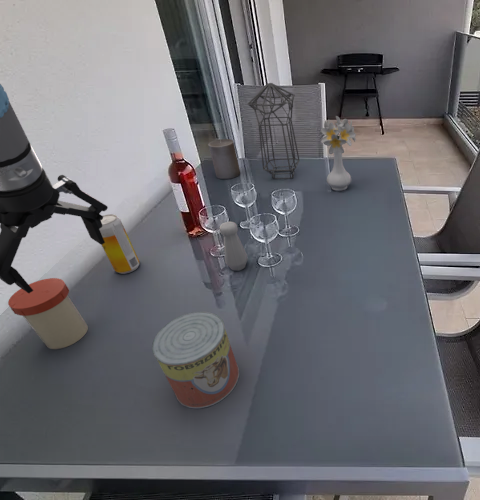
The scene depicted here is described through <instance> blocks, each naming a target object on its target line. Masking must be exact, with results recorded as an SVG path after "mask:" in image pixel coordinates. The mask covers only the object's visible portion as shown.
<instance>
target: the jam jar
mask: <svg viewBox="0 0 480 500" xmlns="http://www.w3.org/2000/svg"><path fill="white" fill-rule="evenodd" d="M22 317H23V318H24V319H25V321H26V322H27V323H28V325H29V326H30V327H31V328H32V330H33V331H34V332H35V334H36V335H37V336H38V337H39V339H40V340H41V341H42V343H43V345H44V346H45V347H47V349H50V350H60V349H65V348H67V347H70V346H72V345H73V344H74V345H75V343H77V342H79V341H80V340H81V339H82V338H83V337H85V335H86V334H87V332H88V331H89V326H88V324H87V322H86V320H85V319H84V318H83V316H82V315H81V313H80V311H79V310H78V308H77V307H76V305H75V304H74V301H72V299H71V298H70V296H69V294H68V295H67V297H66V298H65V299H64V300H63V301H62V302H61V303H59V304H58V305H56V306H55V307H53V308H51V309H49V310H47V311H44V312H42V313H39V314H35V315H29V316H22Z"/></svg>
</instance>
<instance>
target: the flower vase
mask: <svg viewBox="0 0 480 500" xmlns="http://www.w3.org/2000/svg"><path fill="white" fill-rule="evenodd" d="M335 119H336V122H335V123H333V122H332V121H331V122H330V119H328V120H326V119H325V120H324V123H323V127H322V128H320V131H319V135H321V136H320V137H319V140H321V141H320V143H321V144H323V145H324V146H327V147H329V149H328V154H329V155H333V165H332V169H331V171H330V172H329V173H328V174H327V176H326V183H327V185H328V186H329V187H331V190H333V191H334V192H335V191H336V192H343V191H345V190H347V189H348V187H349V186H350V185H351V183H352V175H351V174H350V173H349V172H348V171H347V170H346V168H345V165H344V161H343V154H344V153H345V149H344V148H343V145H345V144H347V145H348V146H349V147H352V144H353V143H352V140H353V142H354V143H356V141H357V138H356V136H357V133H356V132H355V126H353V125H352V124H353V122H352V119H351V120H350V123H349V120H348V119H347V118H344V119H342V120H341V117H339V116H338V115H335ZM339 134H340V135H339Z"/></svg>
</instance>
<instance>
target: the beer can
mask: <svg viewBox="0 0 480 500" xmlns="http://www.w3.org/2000/svg"><path fill="white" fill-rule="evenodd" d="M102 216H103V219H102V220H101V223H102V227H101V228H100V229H99V230H100V232H101V234H102V237H103V239H104V241H105V243H104V244H102V245H101V247H102V249H103V251H104V253H105V254H106V257H107V259H108V260H109V263H110V264H111V266H112V268H113V270H114V271H115V272H116V273H119V274H120V275H126V274H130V273H132V272H134V271H136V270H137V269H138V268H139V265H140V260H139V257H138V255H137V253H136V251H135V248H134V246H133V244H132V242H131V239H130V238H129V235H128V232H127V231H126V228H125V226H124V223H123V222H122V219H121V218H120V217H119V216H118V215H116V214H114V213H111V214H109V213H108V214H103V215H102Z"/></svg>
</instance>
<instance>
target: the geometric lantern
mask: <svg viewBox="0 0 480 500" xmlns="http://www.w3.org/2000/svg"><path fill="white" fill-rule="evenodd" d="M264 92H265V95H263V94H264ZM285 93H286V94H285ZM268 94H269V96H268ZM275 94H277V96H275ZM295 96H296V95H295V94H294V93H292V92H290V91H288V90H286V89H284V88H282V87H281V86H278V85H277V84H274V83H273V82H266V84H264V86H263V87H262V88H261V90H260V91H259V92H257V94H255V96H254V97H252V98H251V99H250V100H249V101H248V102H247V105H248V106H249V107H250V108H251V109H252V110H254V114H255V118H256V121H257V123H258V124H257V125H258V134H259V135H258V136H259V144H260V154H261V162H262V170H263V171H265V172H267V173H269V174H270V175H271V178H272V179H273V180H278V179H279V180H281V179H282V180H283V179H284V180H287V179H289V180H290V179H293V178H294V176H295V170H296V169H297V167H298V165H299V163H300V155H299V150H298V146H297V145H298V144H297V140H296V139H297V138H296V134H295V130H294V125H293V108H294V100H295ZM260 98H261V99H262V100H263V101H262V103H258V100H259V99H260ZM272 99H273V102H272ZM276 99H280V103H279V102H278V103H276ZM266 102H268V103H269V104H265V103H266ZM285 105H288V113H287V111H286V109H285V108H284V106H285ZM258 106H261V107H262V110H261V109H260V108H258ZM275 106H278V107H277V108H275V109H274V107H275ZM265 107H270V111H268V112H266V111H265ZM281 108H282V110H283V111H284V112H285V114H286V116H278V115H277V114H276V112H277V111H278V110H280V109H281ZM257 111H258V112H259V113H260V114H261V115H262V119H261V120H259V117H258V113H257ZM271 114H273V115H274V116H273V117H272V116H271ZM266 115H268V116H267V117H266ZM270 119H277V121H278V122H279V123H280V124H277V123H276V124H275V123H274V124H271V120H270ZM281 119H286V121H285V123H283V121H282V120H281ZM266 120H267V121H268V122H267V123H268V124H266ZM272 126H273V127H274V126H275V127H276V126H277V127H278V126H281V129H282V136H283V141H284V147H285V153H286V158H285V157H284V158H283V157H282V158H275V152H274V144H273V136H272V129H271V127H272ZM284 126H286V131H287V136H288V141H289V146H290V151H291V157H289V152H288V146H287V145H288V144H287V140H286V139H287V138H286V134H285V129H284ZM262 127H264V133H265V141H264V134H263V128H262ZM267 127H268V129H269V137H270V144H271V151H272V157H273V158H271V159H270V153H269V151H270V150H269V144H268V143H269V142H268V133H267ZM265 144H266V145H265ZM265 146H266V147H265ZM295 150H296V153H295ZM296 156H297V158H296ZM264 160H265V161H264ZM285 160H286V161H287V163H288V164H287V165H283V166H277V164H276V161H285ZM290 160H292V162H291V163H290ZM272 161H273V163H274V165H273V163H272ZM264 164H265V165H264ZM269 164H270V165H271V166H272V167H273V169H269ZM277 168H278V169H277ZM279 168H288V169H279ZM277 172H278V173H277ZM279 172H280V173H279ZM276 175H289V177H276Z"/></svg>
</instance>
